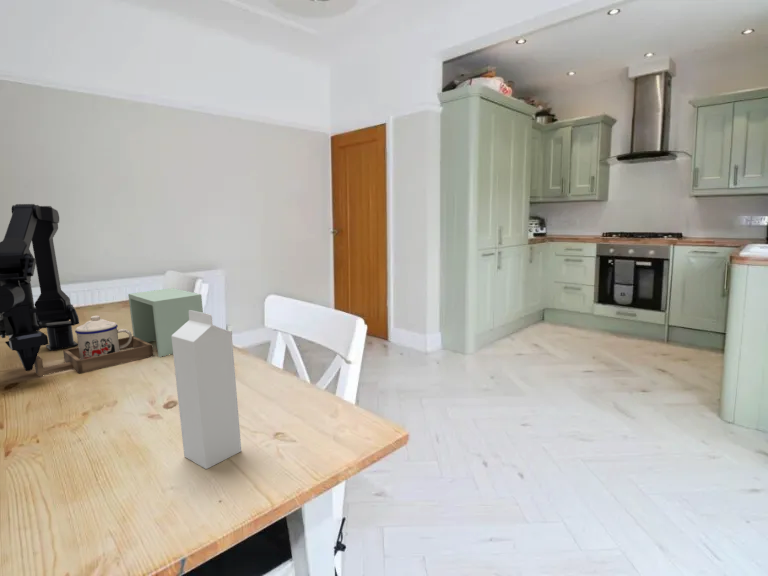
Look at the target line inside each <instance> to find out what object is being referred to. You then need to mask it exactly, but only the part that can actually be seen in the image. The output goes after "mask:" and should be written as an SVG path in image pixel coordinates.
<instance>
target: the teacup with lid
mask: <svg viewBox="0 0 768 576" xmlns="http://www.w3.org/2000/svg"><path fill="white" fill-rule="evenodd" d="M74 332H75V333H76V339H77V344H78V345H77V346H78V347H79V354H80V360H82V359H87V358H91V357H96V356H100V355H105V354H110V353H114V352H119V351H121V350H120V349H121V348H124V347H127V346H128V345H129V344H130V342H131V340H132V336H133V333H132V332H131V331H130V330H129V329H126V328H121V329H118V324H117V322H116V321H115V322H114V321H109V320H106V319H103V318H101V316H100V315H92V316H90V320H87V321H86V322H85V323H84V324H81V325H78V326H77V327H76V328H75V330H74ZM119 333H125V334H128V337H129V339H128V341H127V343H126V344H124V345H120V346H119V341H118V339H119V335H118V334H119Z"/></svg>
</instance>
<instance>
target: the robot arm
mask: <svg viewBox="0 0 768 576" xmlns="http://www.w3.org/2000/svg"><path fill="white" fill-rule="evenodd" d="M59 223H60V215H59V212H58V210H57V209H55V208H53V207H52V206H51V205H39V204H35V203H17V204H13V205H12V206H11V217H10V220H9V224H8V226H7V229H6V232H5V235H4V237H3V239H2V241H0V337H1V339H5V338H6V336H8V338H9V339H8V340H7V341H5V342H4V343H5V344H6V345H7V347H8V348H9V349H11V351H16V353H17V355H18V357H19V359H20V362H21V364H22V366H23V368H24V371H26V372H30V371H32V370H33V368H34V367H35V366H34V363H35V360H36V357H37V356H39V355H38V354H39V352H40V350H41V347H42V346H45V347H46V348H47V349H48V350H49V351H57V350H62V349H69V348H71V347H72V348H74V347H77V346H78V342H76V341H74V335H73V328H72V327H74V326H76V325H80V320H79V314H78V313H77V311H76V309H75V307H74V305H73V304H71V299H70V296H68V295H67V294H66V293H65V292H64V291H63V290H62V288H61V287H62V286H61V280H60V274H59V270H58V269H59V268H58V263H57V257H56V256H57V255H56V250H55V244H54V237H55V235H56V234H57V232H58V230H59ZM31 244H32V248H33V249H32V250H33V253H32V252H31V250H30V247H31ZM35 269H36V272H37V279H38V285H39V291H40V294H39V296H38V298H37V299H36V300H35V302H34V294H33V289H32V283H31V282H32V279H31V278H32V277H33V276H34V274H35ZM41 329H46V333H47V334H46V333H44V332H42V331H41Z"/></svg>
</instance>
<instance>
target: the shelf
mask: <svg viewBox="0 0 768 576" xmlns="http://www.w3.org/2000/svg"><path fill="white" fill-rule="evenodd" d="M127 295H128V304H129V312H130V320H131V327H132V328H131V329H132V336H135V337H137V338H139V339H141V340H143V341H145V342H147V343H151V342H156V351H157V356H158V357H159V358H163V357H166V355H167V356H170V355H169V354H171V355H173V347H172V337H171V336H172V335H173V334H174V333H175V332H176V331H177V330H178V329H180V328H181V327H182V326H183V325H184V324H185V323H186V322H188V321H189V310H192V311H197V312H202V313H204V310H203V309H204V308H203V297H202V296H203V295H202V294H201V293H197V292H193V291H189V290H183V289H179V288H175V287H171V288H163V289H162V288H161V289H155V290H149V291H141V292H133V293H127ZM162 356H163V357H162Z"/></svg>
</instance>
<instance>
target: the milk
mask: <svg viewBox="0 0 768 576" xmlns="http://www.w3.org/2000/svg"><path fill="white" fill-rule="evenodd" d="M232 334H233V333H232V331H230V330H227V329H225V328H223V327H222V328H221V327H219V326H217V325H214V324H213V316H212V314H210V313H206V312H203V313H202V312H197V311H192V310H189V321H188V322H186V323H185V324H184V325H183V326H182V327H181V328H180V329H178V330H177V331H176V332H175V333H174V334H173V335H172V336H171V337H172V347H173V354H172V356H173V364H174V372H175V373H174V374H175V382H176V384H175V385H176V392H177V401H178V410H179V411H178V412H179V420H180V421H179V422H180V428H181V429H180V430H181V438H182V439H181V440H182V448H183V456H184V458H186V459H188V460H189V461H191V462H194V463H195V464H196V465H198V466H199V467H201V468H203V469H205V470H208V469H210V468H212V467H213V466H215V465H217V464H219V463H221V462H223V461H225V460H227V459H229V458H231V457H233V456H235V455H237V454H239V453H240V452H242V442H241V431H240V419H239V418H240V417H239V404H238V394H237V393H238V392H237V384H236V383H237V381H236V370H235V358H234V357H235V356H234V345H233V336H232Z"/></svg>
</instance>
